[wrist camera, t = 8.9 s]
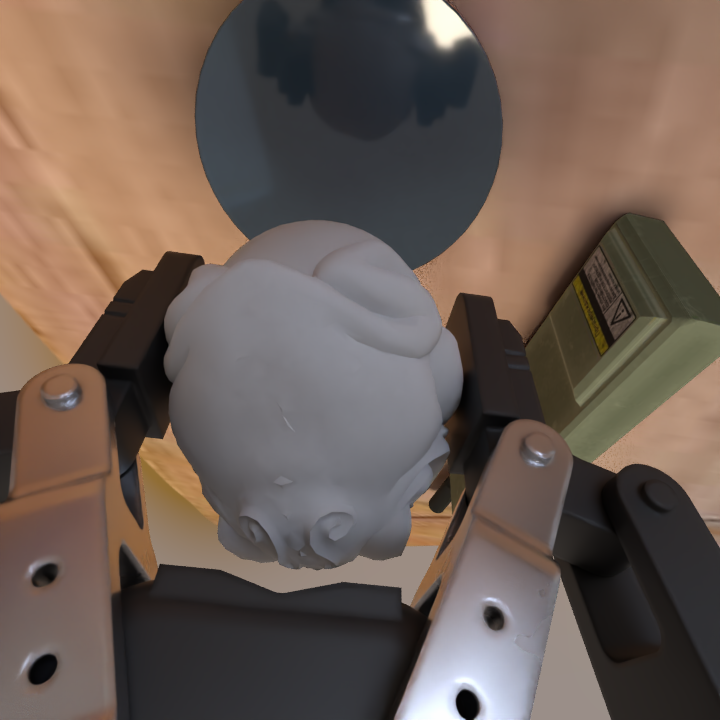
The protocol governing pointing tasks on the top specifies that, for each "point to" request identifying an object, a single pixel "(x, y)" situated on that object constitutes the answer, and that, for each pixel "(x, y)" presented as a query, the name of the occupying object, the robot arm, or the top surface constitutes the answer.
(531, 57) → the top surface
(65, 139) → the top surface
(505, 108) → the top surface
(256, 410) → the white stone carving
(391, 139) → the coaster
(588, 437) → the handheld radio
